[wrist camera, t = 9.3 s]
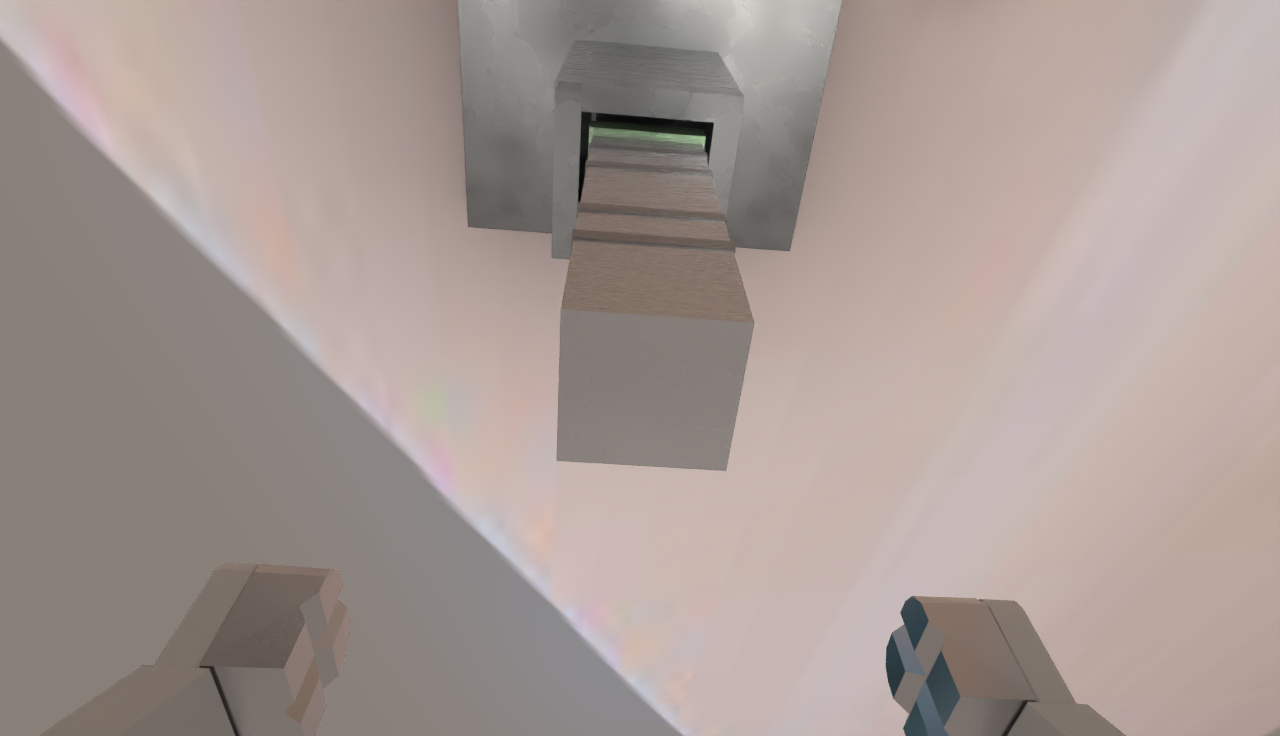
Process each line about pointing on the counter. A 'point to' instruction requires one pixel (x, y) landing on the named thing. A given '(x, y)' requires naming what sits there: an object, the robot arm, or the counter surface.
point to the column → (650, 305)
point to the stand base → (640, 101)
